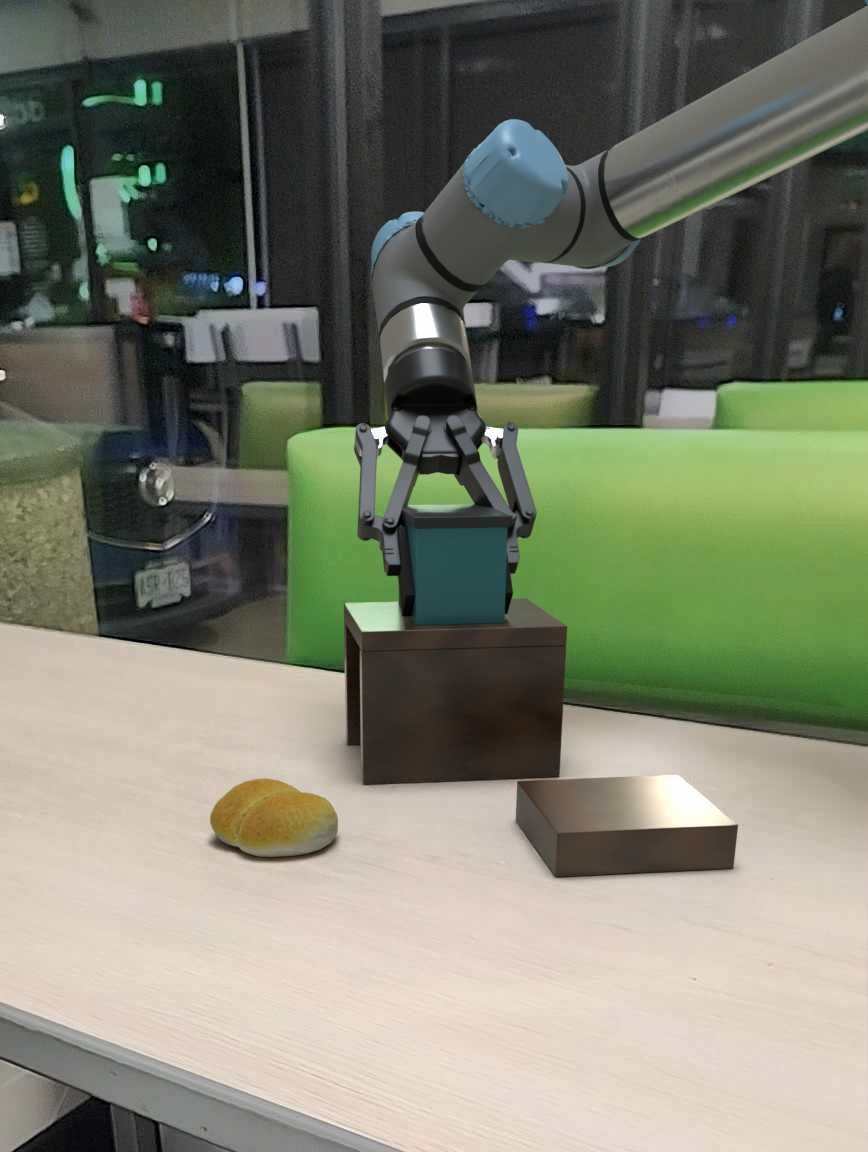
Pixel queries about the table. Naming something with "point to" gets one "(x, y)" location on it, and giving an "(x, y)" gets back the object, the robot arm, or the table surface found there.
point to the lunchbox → (457, 563)
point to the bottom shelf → (624, 825)
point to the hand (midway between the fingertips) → (457, 604)
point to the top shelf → (454, 695)
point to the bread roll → (273, 819)
